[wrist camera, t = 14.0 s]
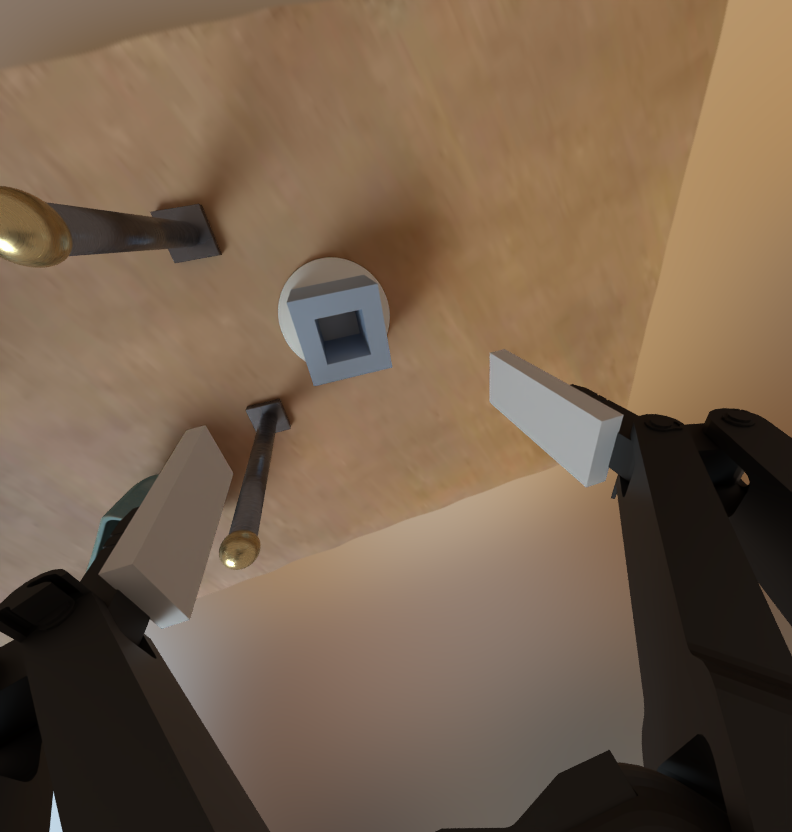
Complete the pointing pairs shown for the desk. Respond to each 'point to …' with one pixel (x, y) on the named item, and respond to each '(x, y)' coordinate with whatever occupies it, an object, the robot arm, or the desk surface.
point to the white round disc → (330, 325)
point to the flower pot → (120, 513)
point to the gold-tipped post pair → (186, 240)
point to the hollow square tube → (346, 352)
